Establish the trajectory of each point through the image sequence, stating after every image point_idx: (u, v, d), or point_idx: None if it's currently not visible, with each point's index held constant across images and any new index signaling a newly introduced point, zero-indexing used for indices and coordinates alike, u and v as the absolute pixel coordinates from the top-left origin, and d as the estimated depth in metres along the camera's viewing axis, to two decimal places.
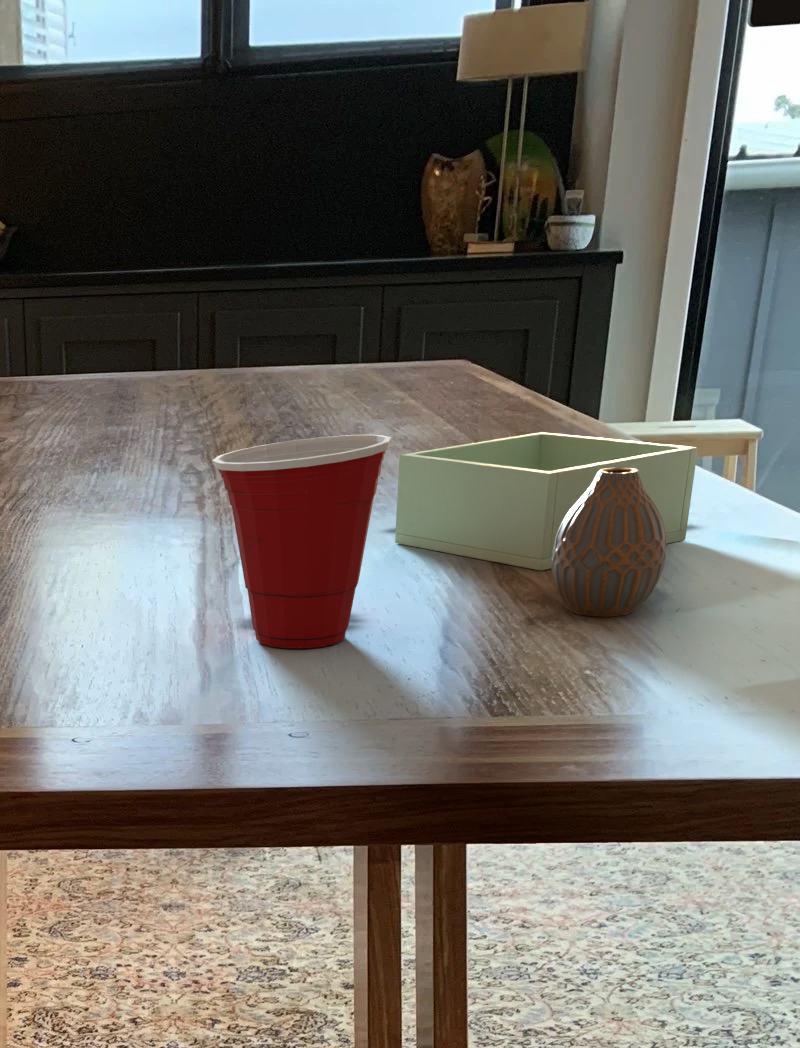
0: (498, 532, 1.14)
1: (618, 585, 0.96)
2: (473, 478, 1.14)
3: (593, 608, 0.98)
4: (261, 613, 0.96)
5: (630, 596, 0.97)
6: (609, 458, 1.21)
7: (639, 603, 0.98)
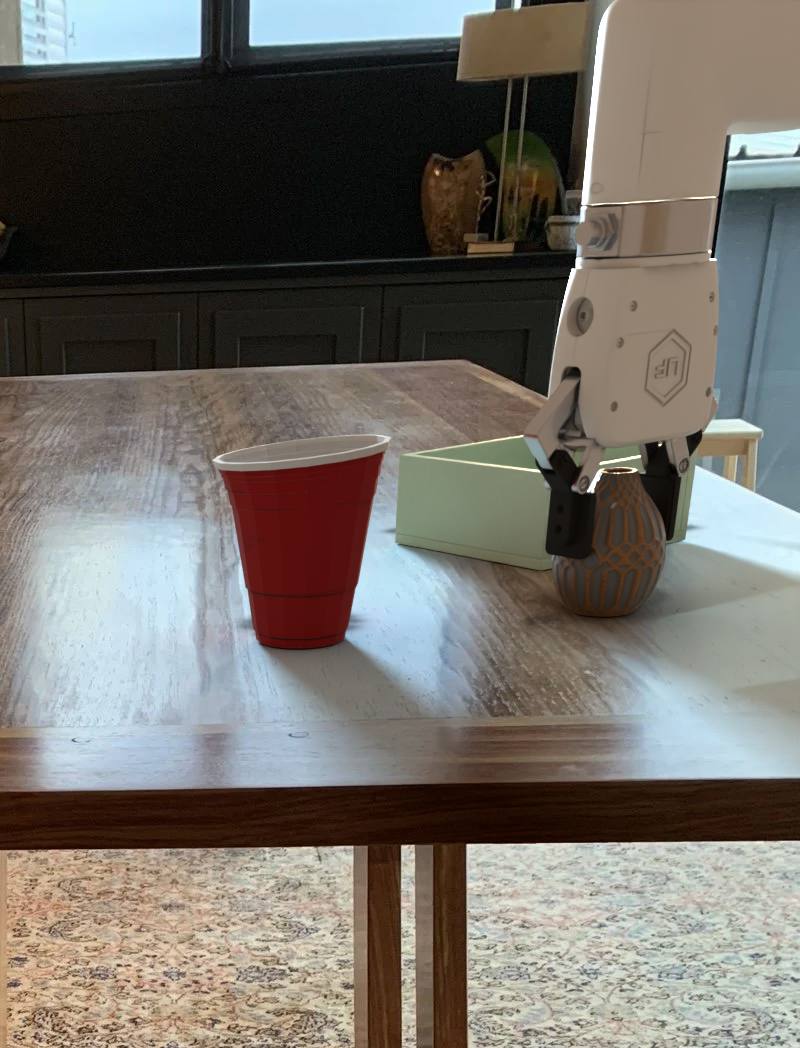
0: (498, 532, 1.14)
1: (618, 585, 0.96)
2: (473, 478, 1.14)
3: (593, 608, 0.98)
4: (261, 613, 0.96)
5: (630, 596, 0.97)
6: (609, 458, 1.21)
7: (639, 603, 0.98)
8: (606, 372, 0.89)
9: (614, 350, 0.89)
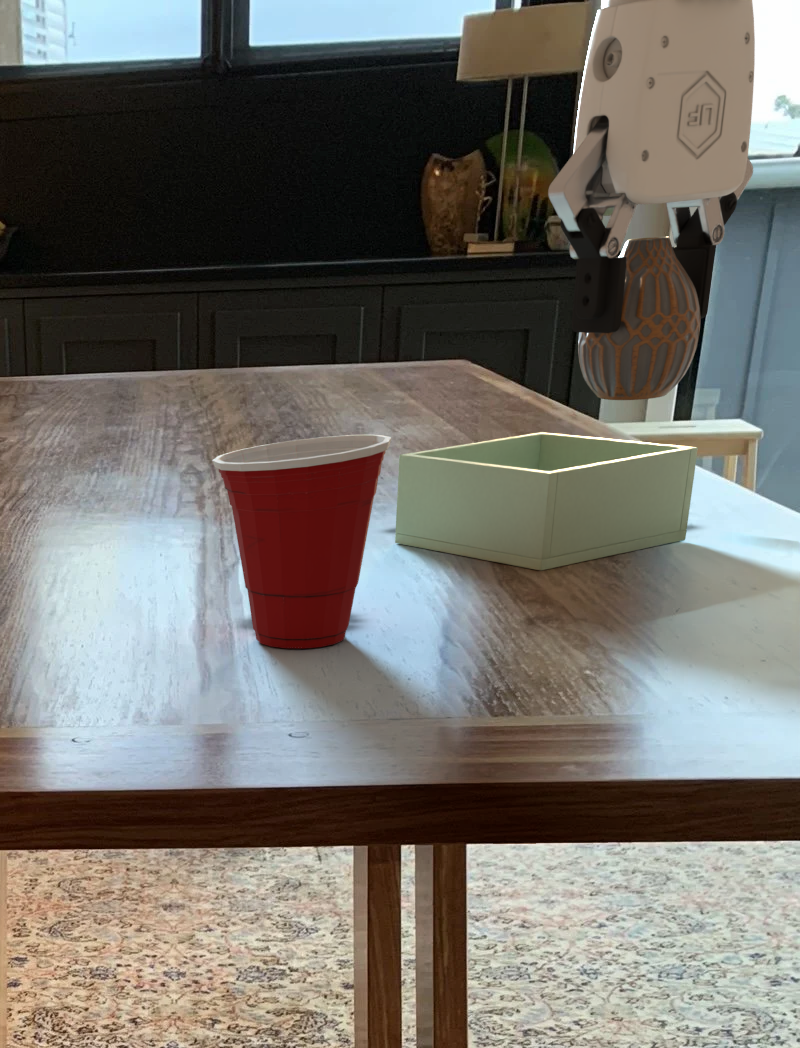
0: (498, 532, 1.14)
1: (649, 361, 0.91)
2: (473, 478, 1.14)
3: (623, 390, 0.92)
4: (261, 613, 0.96)
5: (663, 374, 0.91)
6: (609, 458, 1.21)
7: (672, 383, 0.92)
8: (636, 116, 0.84)
9: (644, 91, 0.83)
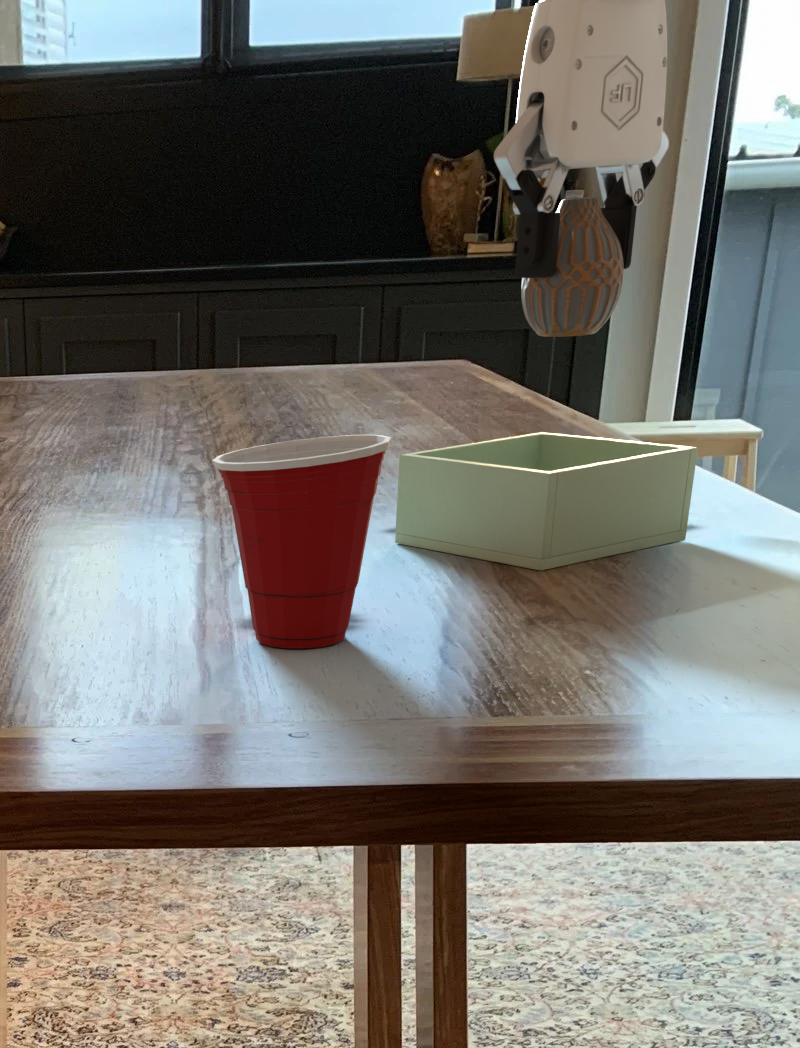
0: (498, 532, 1.14)
1: (580, 302, 1.07)
2: (473, 478, 1.14)
3: (558, 327, 1.09)
4: (261, 613, 0.96)
5: (591, 313, 1.07)
6: (609, 458, 1.21)
7: (600, 322, 1.08)
8: (566, 92, 1.00)
9: (573, 71, 0.99)
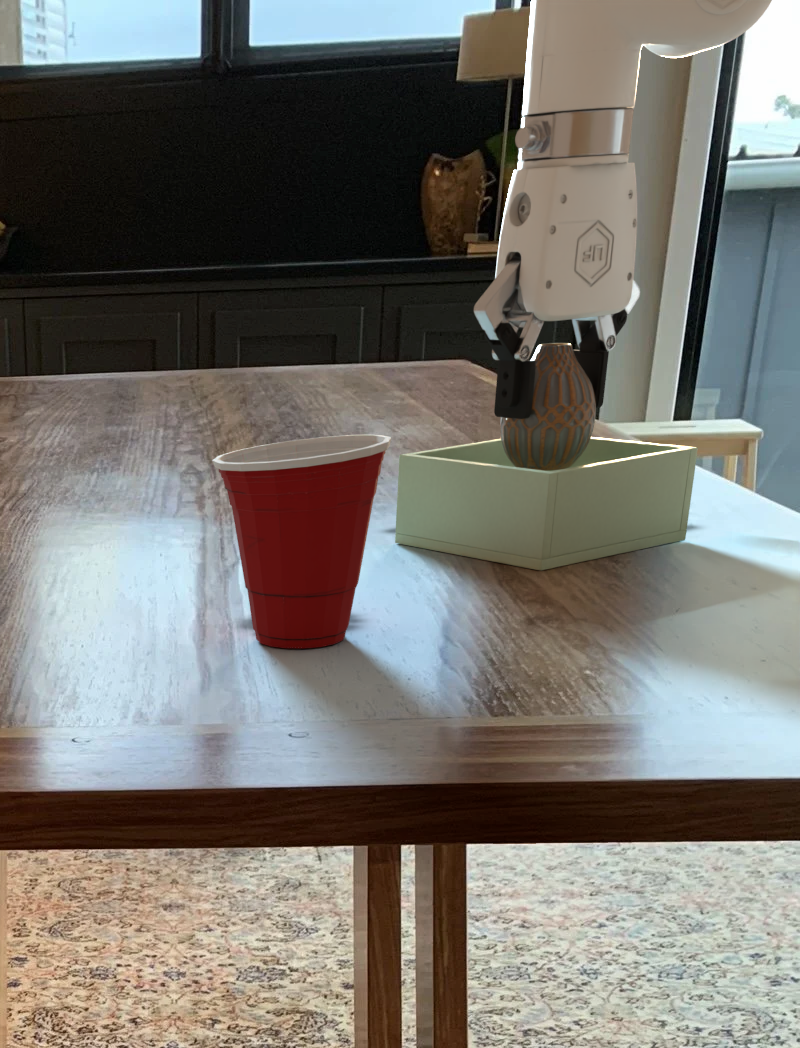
0: (498, 532, 1.14)
1: (554, 441, 1.14)
2: (473, 478, 1.14)
3: (534, 463, 1.16)
4: (261, 613, 0.96)
5: (565, 451, 1.15)
6: (609, 458, 1.21)
7: (573, 458, 1.16)
8: (541, 255, 1.07)
9: (547, 236, 1.07)
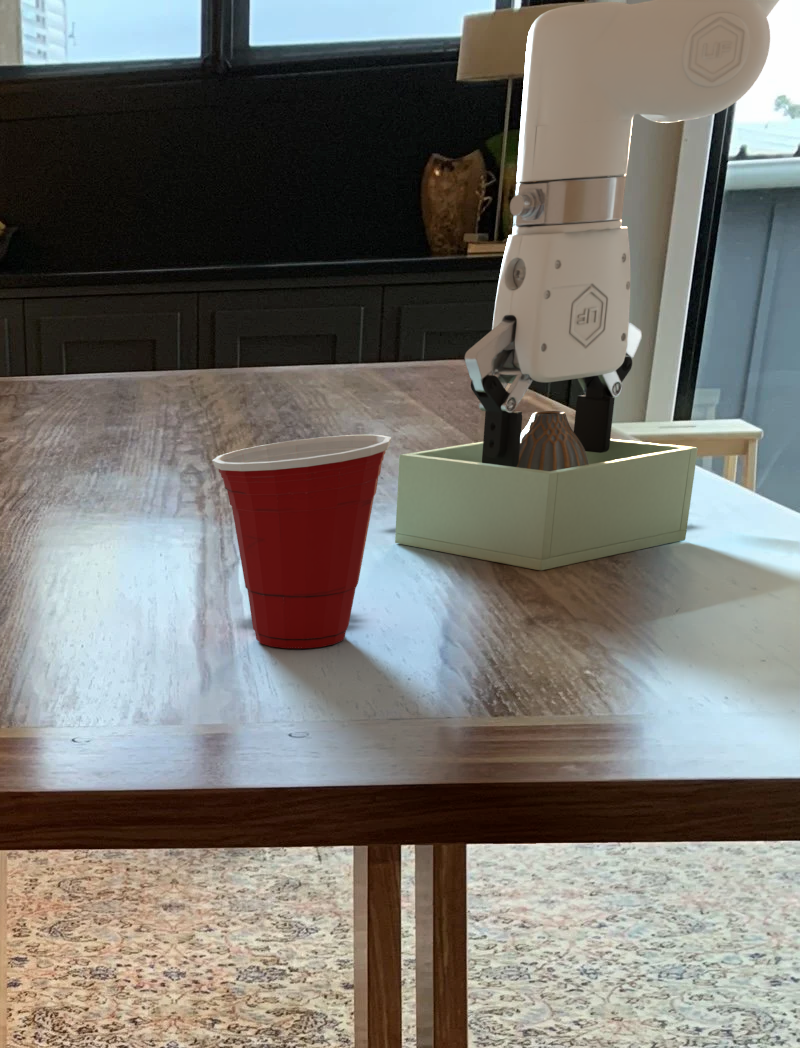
0: (498, 532, 1.14)
1: None
2: (473, 478, 1.14)
3: None
4: (261, 613, 0.96)
5: None
6: (609, 458, 1.21)
7: None
8: (536, 319, 1.09)
9: (542, 301, 1.09)
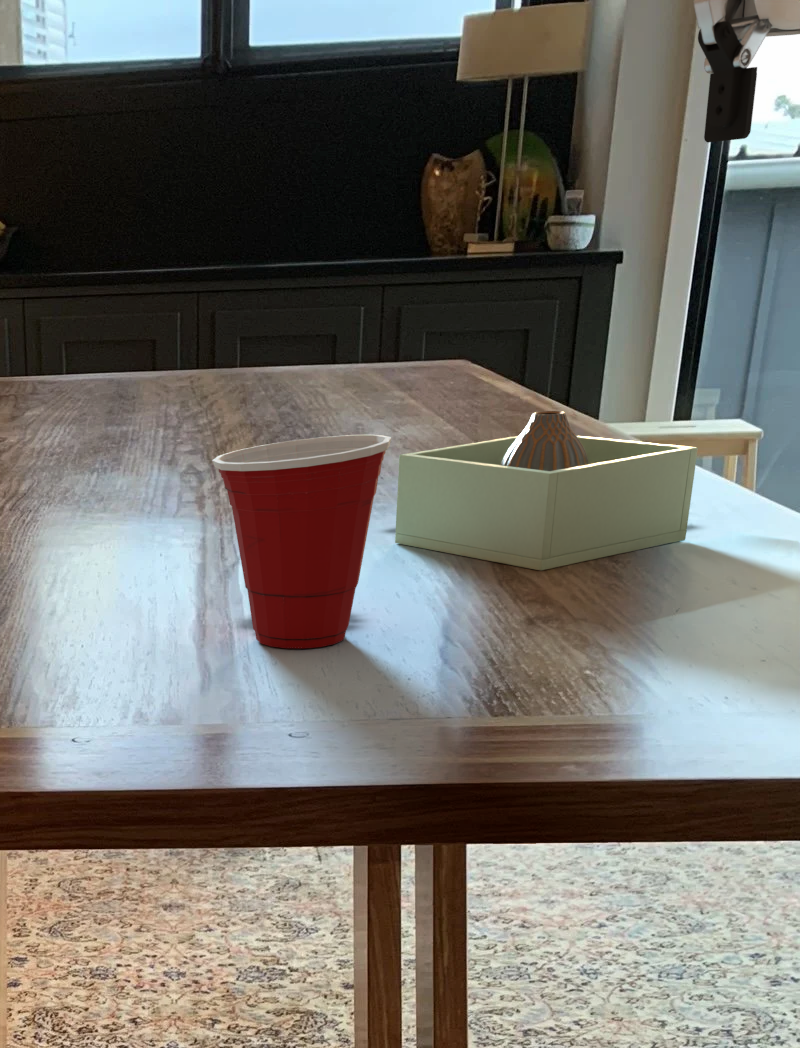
0: (498, 532, 1.14)
1: None
2: (473, 478, 1.14)
3: None
4: (261, 613, 0.96)
5: None
6: (609, 458, 1.21)
7: None
8: None
9: None
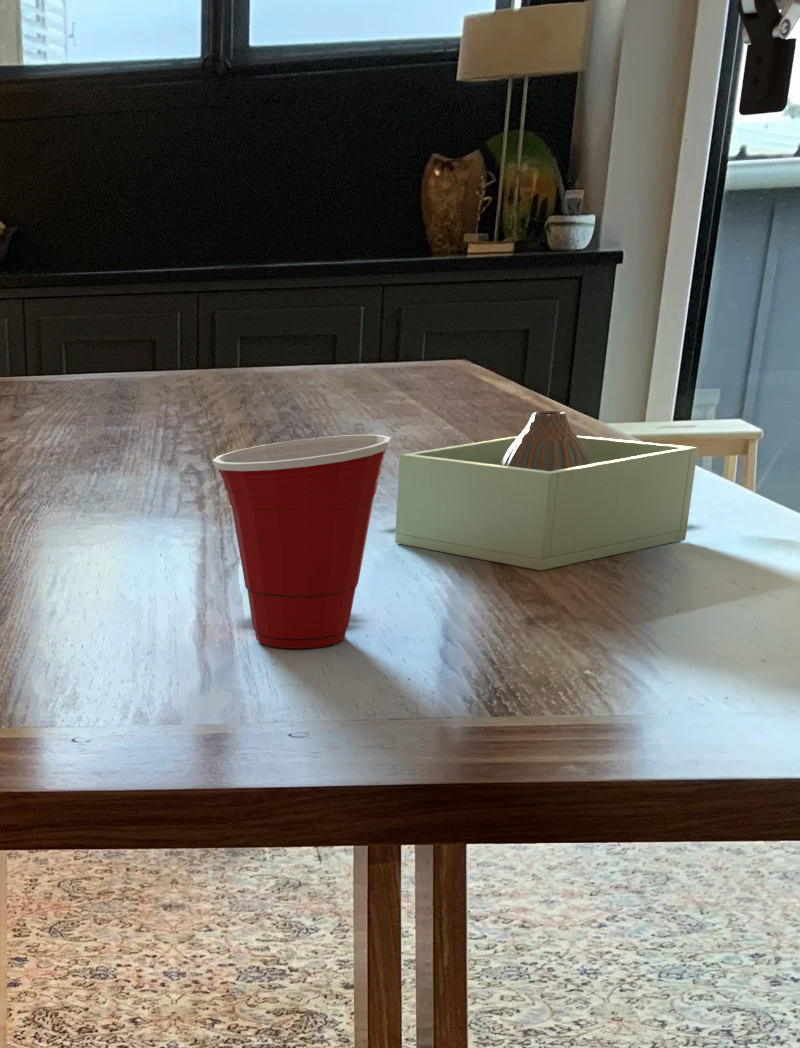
0: (498, 532, 1.14)
1: None
2: (473, 478, 1.14)
3: None
4: (261, 613, 0.96)
5: None
6: (609, 458, 1.21)
7: None
8: None
9: None
